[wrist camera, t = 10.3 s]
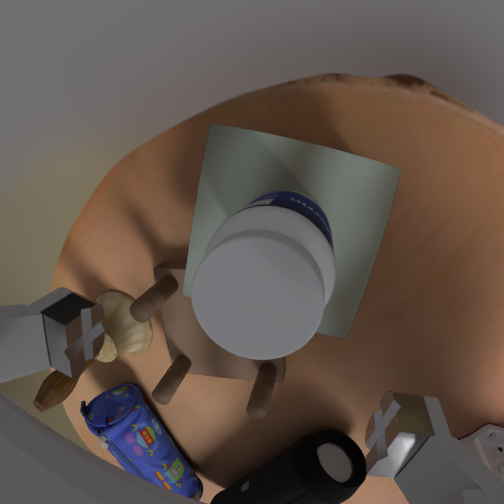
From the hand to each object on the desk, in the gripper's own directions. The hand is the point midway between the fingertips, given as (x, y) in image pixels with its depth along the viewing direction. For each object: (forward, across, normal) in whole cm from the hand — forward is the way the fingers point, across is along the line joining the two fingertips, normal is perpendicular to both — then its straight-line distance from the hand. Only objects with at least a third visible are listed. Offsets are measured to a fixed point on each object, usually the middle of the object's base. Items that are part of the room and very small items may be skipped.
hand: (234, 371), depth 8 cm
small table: (+21, 0, 0) cm, 21 cm away
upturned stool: (+21, -4, -12) cm, 25 cm away
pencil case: (+22, -11, -35) cm, 43 cm away
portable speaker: (+22, +8, -35) cm, 42 cm away
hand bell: (+21, -16, -16) cm, 32 cm away
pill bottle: (+13, 0, +1) cm, 13 cm away
